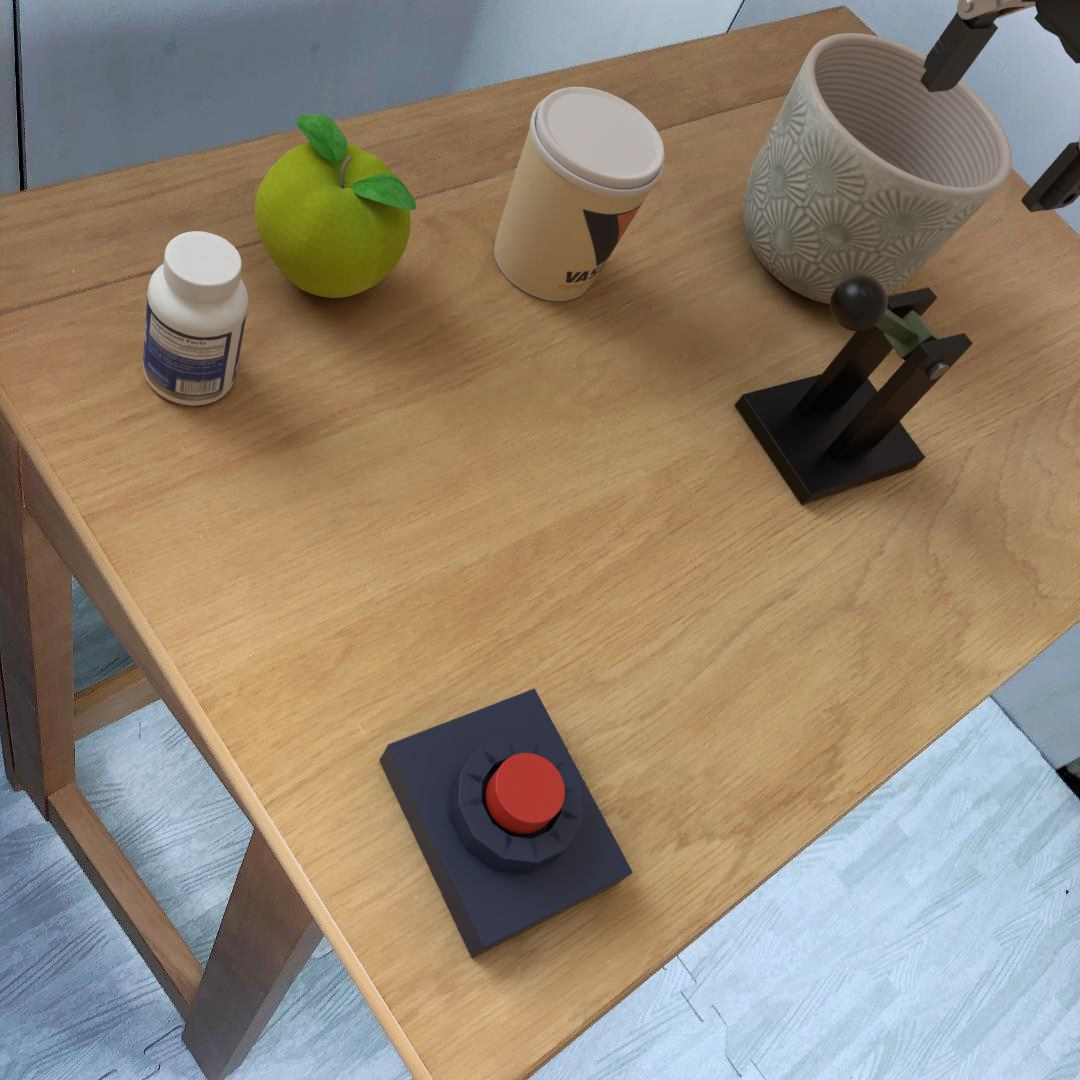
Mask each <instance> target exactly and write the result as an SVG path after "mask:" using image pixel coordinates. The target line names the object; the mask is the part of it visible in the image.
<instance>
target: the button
mask: <svg viewBox="0 0 1080 1080" xmlns="http://www.w3.org/2000/svg"><path fill="white" fill-rule="evenodd" d="M564 798H565V787H564V783H563V779H562V777H561V775H560V773H559V771H558V770H557V769H556V767H555V766H554V765H553V764H552V763H551V762H549V761H548V760H547V759H545V758H543V757H541V756H539V755H536V754H532V753H520V754H516V755H513V756H511V757H509V758H508V759H507V760H505V761H504V762H503V763H502V765H501V766H500V767H499V768H498V770H497V771H496V772H495V773H494V775H493V776H492V777H491V779H490V780H489V782H488V785H487V788H486V803H487V807H488V810H489V812H490V814H491V816H492V817H493V819H494V820H495V821H496V822H497V823H498V824H499V825H500V826H501V827H503V828H504V829H506V830H508V831H510V832H513V833H517V834H530V833H534V832H537V831H539V830H540V829H542V828H543V827H544V826H545V825H546V824H547V823H548V822H549V821H550V820H551V819H552V818H553V817H554V816H555V815H556V814H557V813H558V812H559V811H560V809H561V807H562V805H563V802H564Z"/></svg>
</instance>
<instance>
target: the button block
mask: <svg viewBox="0 0 1080 1080" xmlns="http://www.w3.org/2000/svg"><path fill="white" fill-rule="evenodd" d="M520 753H532V754H536V755H539V756H541V757H543V758H545V759H547V760H548V761H549V762H551V763H552V764H553V765H554V766H555V767H556V769H557V770H558V771H559V773H560V775H561V777H562V779H563V783H564V787H565V798H564V802H563V805H562V807H561V809H560V811H559V812H558V813H557V814H556V815H555V816H554V817H553V818H552V819H551V820H550V821H549V822H548V823H547V824H546V825H545V826H544V827H543V828H542V829H540V830H539V831H537V832H534V833H530V834H517V833H513V832H510V831H508V830H506V829H504V828H503V827H501V826H500V825H499V824H498V823H497V822H496V821H495V820H494V819H493V817H492V816H491V814H490V812H489V810H488V807H487V803H486V788H487V785H488V782H489V780H490V779H491V777H492V776H493V775H494V773H495V772H496V771H497V770H498V768H499V767H500V766H501V765H502V763H503V762H504V761H505V760H507V759H508V758H509V757H511V756H513V755H516V754H520ZM378 762H379V763H380V765H381V768H382V770H383V772H384V774H385V776H386V778H387V780H388V783H389V785H390V787H391V789H392V791H393V793H394V795H395V797H396V800H397V802H398V804H399V806H400V809H401V810H402V813H403V815H404V817H405V819H406V821H407V824H408V825H409V828H410V830H411V831H412V834H413V836H414V838H415V840H416V843H417V845H418V847H419V849H420V851H421V853H422V855H423V857H424V859H425V862H426V864H427V866H428V868H429V870H430V872H431V874H432V877H433V879H434V881H435V883H436V885H437V888H438V889H439V892H440V894H441V896H442V898H443V900H444V902H445V904H446V907H447V909H448V911H449V914H450V915H451V917H452V920H453V922H454V924H455V926H456V928H457V930H458V932H459V935H460V937H461V938H462V940H463V943H464V945H465V947H466V950H467V952H468V954H469V956H470V958H471V959H474V958H476V957H477V956H480V955H481V954H484V953H486V952H487V951H490V950H491V949H493V948H495V947H497V946H499V945H501V944H503V943H505V942H507V941H509V940H511V939H514V938H515V937H517V936H519V935H521V934H523V933H525V932H527V931H529V930H531V929H533V928H535V927H537V926H539V925H541V924H543V923H544V922H546V921H549V920H550V919H553V918H554V917H557V916H558V915H560V914H563V913H564V912H566V911H568V910H570V909H572V908H574V907H577V906H578V905H581V904H582V903H584V902H586V901H588V900H589V899H592V898H594V897H596V896H598V895H600V894H601V893H604V892H605V891H608V890H610V889H611V888H613V887H615V886H617V885H619V884H620V883H621V882H623V881H624V880H625V879H627V878H628V877H629V876H630V875H632V874H633V870H632V868H631V866H630V864H629V862H628V860H627V859H626V857H625V855H624V853H623V851H622V849H621V847H620V846H619V843H618V842H617V840H616V837H615V836H614V835H613V833H612V831H611V828H610V827H609V825H608V823H607V821H606V819H605V817H604V815H603V813H602V812H601V810H600V807H599V806H598V805H597V802H596V800H595V799H594V797H593V795H592V793H591V791H590V789H589V788H588V786H587V783H586V781H585V780H584V777H583V776H582V774H581V773H580V770H579V769H578V766H577V765H576V763H575V761H574V758H573V757H572V756H571V753H570V752H569V749H568V748H567V746H566V744H565V743H564V741H563V738H562V737H561V735H560V733H559V731H558V729H557V727H556V725H555V723H554V722H553V720H552V718H551V716H550V714H549V712H548V710H547V709H546V707H545V705H544V703H543V701H542V699H541V697H540V695H539V693H538V692H537V690H536V688H532V689H529V690H527V691H524V692H522V693H519V694H516V695H513V696H511V697H509V698H505V699H503V700H500V701H498V702H495V703H492V704H490V705H488V706H485V707H481V708H480V709H477V710H474V711H472V712H469V713H467V714H464V715H461V716H459V717H456V718H453V719H450V720H448V721H445V722H443V723H440V724H438V725H435V726H433V727H430V728H427V729H425V730H422V731H419V732H417V733H414V734H411V735H409V736H406V737H404V738H402V739H399V740H398V739H397V740H396V741H393V742H391V743H388V745H387V746H386V748H385V749H384V750H383V753H382V754H381V756H380V758H379V760H378Z"/></svg>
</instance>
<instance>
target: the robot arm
mask: <svg viewBox="0 0 1080 1080" xmlns="http://www.w3.org/2000/svg"><path fill="white" fill-rule="evenodd" d="M1034 7H1035V9H1036V15H1035V16H1034V17H1033V19H1034V20H1035V21H1036V22H1037V23H1038V24H1039V25H1040V27H1042V28H1043V30H1045V31H1047V32H1049V33H1050V34H1053V35H1054V36H1056V37H1057V38H1058V39H1059V42H1060V44H1061V45H1062V48H1063V50H1064V52H1065V53H1066V54H1067V56H1068V57H1069V58H1070V59H1071V60H1072V61H1073V62H1074V64H1080V0H958V2H957V6H956V12H955V14H954V16H953V17H952V19H951V20H950V21H949V23H948V24H947V26H946V28H945V29H944V30H943V31H942V33H941V34H940V36H939V38H938V39H937V40H936V42H935V43H934V45H933V46H932V47H931V49H930V50H929V52H928V53H927V55H926V56H927V57H926V60H925V63H924V66H923V67H924V68H925V69H926V71H925V73H924V74H923V76H922V78H921V83H922V84H923V85H924V86H925V88H926V89H927V90H928V91H929V92H938V91H948V90H950V89H952V88H953V87H955V86H956V85H957V84H958V82H959V81H960V80H962V78H963V77H964V76H965V74H966V73H967V72H968V70H969V69H970V68H971V66H972V65H973V63H974V62H975V60H976V59H977V58H978V57H979V55H980V54H981V53H982V51H983V50H984V48H985V47H986V46H987V44H988V43H989V42H990V40H991V39H992V38H993V36H994V34H996V32H997V31H998V29H999V27H998V26H997V25H996V23H994V22H995V21H996V20H997V19H1001V18H1004V17H1007V16H1010V15H1013V14H1015V13H1018V12H1021V11H1024V10H1026V9H1030V8H1034ZM1078 138H1079V140H1078V141H1076V142H1073V141H1072V142H1069V143H1068V144H1067V146H1066V147H1065V148H1064V149H1063V150H1062V151H1061V152H1060V153H1059V155H1058V156H1057V157H1056V158H1055V160H1054V161H1053V162H1052V163H1051V164H1050V165H1049V166H1048V168H1046V169H1045V171H1044V172H1043V173H1042V174H1041V176H1040V177H1039V178H1038V179H1037V180H1036V181H1035V182H1034V183H1033V184H1032V186H1030V188H1029V189H1028V191H1026V192H1025V194H1024V195H1023V196H1022V198H1021V200H1020V202H1021V203H1022V204H1023V206H1024V207H1025V208H1026V210H1028V211H1029V213H1037V212H1042V211H1052V210H1058V209H1063V208H1065V207H1068V206H1069V205H1071V204H1073V203H1074V202H1075V201H1076V200H1077V199H1078V198H1079V197H1080V137H1078Z"/></svg>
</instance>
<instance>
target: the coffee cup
mask: <svg viewBox="0 0 1080 1080" xmlns="http://www.w3.org/2000/svg"><path fill="white" fill-rule="evenodd" d="M664 170H665V146H664V142H663V139H662V137H661V135H660V133H659V131H658V129H657V128H656V127H655V126H654V123H652V122H651V120H649V118H648V117H647V116H646V115H645V114H644V113H642V112H641V111H640V110H639V109H638V108H636V107H635V106H633V104H630V103H629V102H628V101H626V100H624V99H622V98H620V97H619V96H617V95H614V94H612V93H609V92H607V91H604V90H601V89H597V88H592V87H586V86H567V87H563V88H559V89H557V90H554V91H552V92H551V93H549V94H548V95H547V96H546V97H545V98H543V99H542V100H541V101H539V102H538V103H537V105H536V106H535V108H534V110H533V111H532V114H531V118H530V120H529V130H528V133H527V134H526V139H525V142H524V144H523V148H522V150H521V154H520V158H519V161H518V164H517V167H516V170H515V173H514V177H513V180H512V183H511V187H510V190H509V193H508V195H507V196H508V197H507V199H506V202H505V206H504V209H503V213H502V216H501V219H500V221H499V222H500V223H499V226H498V229H497V234H496V237H495V239H494V240H495V241H494V246H493V253H494V259H495V262H496V265H497V267H498V269H499V271H501V273H502V275H503V276H504V277H505V278H506V279H507V280H508V281H509V282H510V283H511V284H513V285H514V286H515V287H516V288H517V289H519V290H521V291H522V292H524V293H526V294H528V295H530V296H532V297H535V298H537V299H540V300H545V301H549V302H568V301H572V300H575V299H577V298H579V297H581V296H582V295H583V294H585V293H586V292H587V290H589V288H590V287H591V286H592V284H593V282H594V281H595V279H597V277H598V275H599V274H600V272H601V270H602V269H603V267H604V266H605V264H606V263H607V261H608V259H609V258H610V256H611V254H612V253H613V251H614V249H615V248H616V247H617V245H618V244H619V242H620V241H621V239H622V237H623V236H624V234H625V233H626V231H627V229H628V228H629V226H630V225H631V223H632V221H633V220H634V218H635V217H636V215H637V213H638V212H639V210H640V208H641V207H642V205H643V204H644V202H645V200H646V198H647V196H648V195H649V193H650V192H651V190H652V189H654V187H655V186H656V185H657V183H658V182H659V180H660V179H661V178H662V175H663V172H664Z"/></svg>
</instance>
